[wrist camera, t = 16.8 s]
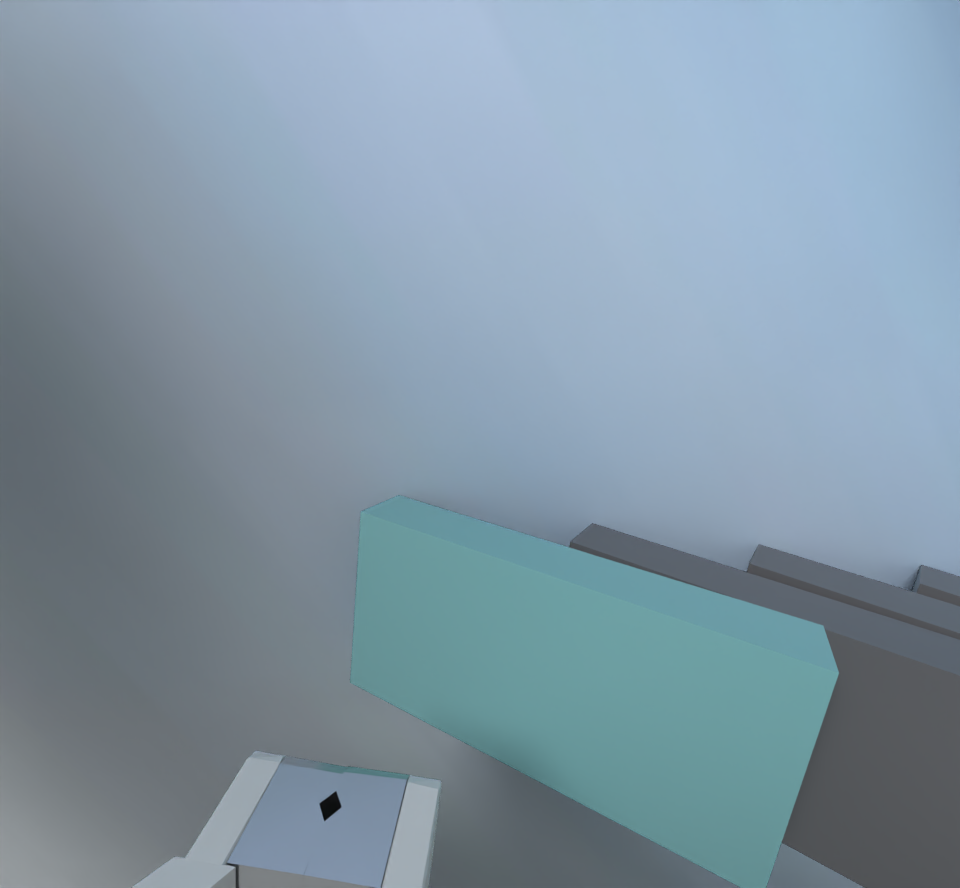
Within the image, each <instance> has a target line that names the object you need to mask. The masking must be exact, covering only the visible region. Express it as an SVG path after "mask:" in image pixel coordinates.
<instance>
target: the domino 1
mask: <svg viewBox="0 0 960 888" xmlns="http://www.w3.org/2000/svg"><path fill="white" fill-rule="evenodd" d="M838 675H839V671H838V668H837V665H836V662H835V659H834V656H833V653H832V650H831V647H830V644H829V641H828V638H827V635H826V632H825V629H824V626H823V625H820V624H817V623H813V622H810V621H807V620H804V619H800V618H797V617H794V616H791V615H787V614H784V613H781V612H778V611H774V610H771V609H768V608H765V607H761V606H758V605H755V604H752V603H748V602H745V601H742V600H739V599H735V598H732V597H729V596H725V595H722V594H719V593H716V592H712V591H709V590H706V589H703V588H699V587H696V586H693V585H690V584H686V583H683V582H680V581H677V580H673V579H670V578H667V577H664V576H660V575H657V574H654V573H651V572H647V571H644V570H641V569H638V568H634V567H631V566H628V565H625V564H621V563H618V562H615V561H612V560H608V559H605V558H602V557H599V556H595V555H592V554H589V553H586V552H582V551H579V550H576V549H573V548H569V547H566V546H563V545H560V544H556V543H553V542H550V541H547V540H543V539H540V538H537V537H534V536H530V535H527V534H524V533H521V532H517V531H514V530H511V529H508V528H504V527H501V526H498V525H495V524H491V523H488V522H485V521H482V520H478V519H475V518H472V517H469V516H465V515H462V514H459V513H455V512H452V511H449V510H446V509H442V508H439V507H436V506H433V505H429V504H426V503H423V502H420V501H416V500H413V499H410V498H407V497H403V496H400V495H398V496H396V497H393V498H391V499H389V500H386V501H384V502H382V503H379V504H377V505H375V506H373V507H370V508H368V509H366V510H363V511H361V515H360V531H359V547H358V563H357V580H356V596H355V612H354V628H353V644H352V660H351V676H350V683H352V684H354V685H356V686H358V687H359V688H361V689H363V690H365V691H367V692H369V693H371V694H373V695H375V696H377V697H378V698H380V699H382V700H384V701H386V702H388V703H390V704H392V705H394V706H396V707H398V708H399V709H401V710H403V711H405V712H407V713H409V714H411V715H413V716H415V717H417V718H418V719H420V720H422V721H424V722H426V723H428V724H430V725H432V726H434V727H436V728H438V729H439V730H441V731H443V732H445V733H447V734H449V735H451V736H453V737H455V738H457V739H458V740H460V741H462V742H464V743H466V744H468V745H470V746H472V747H474V748H476V749H478V750H479V751H481V752H483V753H485V754H487V755H489V756H491V757H493V758H495V759H497V760H499V761H500V762H502V763H504V764H506V765H508V766H510V767H512V768H514V769H516V770H518V771H519V772H521V773H523V774H525V775H527V776H529V777H531V778H533V779H535V780H537V781H539V782H540V783H542V784H544V785H546V786H548V787H550V788H552V789H554V790H556V791H558V792H559V793H561V794H563V795H565V796H567V797H569V798H571V799H573V800H575V801H577V802H579V803H580V804H582V805H584V806H586V807H588V808H590V809H592V810H594V811H596V812H598V813H599V814H601V815H603V816H605V817H607V818H609V819H611V820H613V821H615V822H617V823H619V824H620V825H622V826H624V827H626V828H628V829H630V830H632V831H634V832H636V833H638V834H639V835H641V836H643V837H645V838H647V839H649V840H651V841H653V842H655V843H657V844H659V845H660V846H662V847H664V848H666V849H668V850H670V851H672V852H674V853H676V854H678V855H680V856H681V857H683V858H685V859H687V860H689V861H691V862H693V863H695V864H697V865H699V866H700V867H702V868H704V869H706V870H708V871H710V872H712V873H714V874H716V875H718V876H720V877H721V878H723V879H725V880H727V881H729V882H731V883H733V884H735V885H737V886H739V887H740V888H766V887H767V884H768V881H769V878H770V875H771V872H772V869H773V866H774V863H775V860H776V857H777V854H778V851H779V848H780V845H781V843H782V840H783V837H784V834H785V831H786V828H787V825H788V822H789V819H790V816H791V813H792V810H793V807H794V804H795V801H796V798H797V795H798V792H799V790H800V787H801V784H802V781H803V778H804V775H805V772H806V769H807V766H808V763H809V760H810V757H811V754H812V751H813V748H814V745H815V742H816V739H817V737H818V734H819V731H820V728H821V725H822V722H823V719H824V716H825V713H826V710H827V707H828V704H829V701H830V698H831V695H832V692H833V689H834V686H835V684H836V681H837V678H838Z"/></svg>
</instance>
